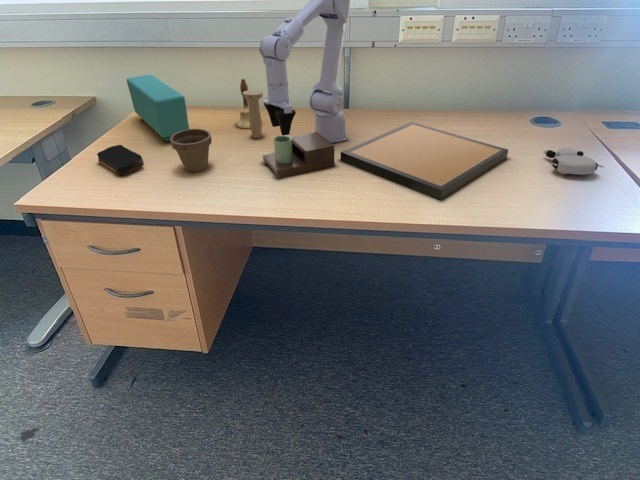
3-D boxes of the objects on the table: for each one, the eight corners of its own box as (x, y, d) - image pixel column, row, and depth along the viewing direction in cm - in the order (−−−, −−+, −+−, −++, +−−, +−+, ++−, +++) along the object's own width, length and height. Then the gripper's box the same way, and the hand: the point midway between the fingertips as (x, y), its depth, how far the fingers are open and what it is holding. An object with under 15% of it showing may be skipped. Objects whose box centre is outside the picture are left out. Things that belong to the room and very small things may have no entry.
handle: (263, 140, 153) (259, 95, 144) (245, 138, 154) (240, 94, 146) (268, 134, 157) (264, 90, 148) (250, 133, 158) (245, 90, 150)
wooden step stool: (317, 151, 144) (317, 131, 140) (334, 166, 135) (334, 145, 131) (263, 163, 138) (261, 142, 134) (277, 179, 129) (275, 157, 125)
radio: (195, 139, 154) (187, 95, 146) (165, 146, 150) (155, 101, 141) (162, 112, 178) (154, 73, 169) (135, 118, 173) (125, 77, 165)
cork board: (506, 158, 138) (410, 129, 159) (508, 149, 136) (411, 121, 157) (440, 200, 117) (340, 160, 138) (442, 190, 116) (340, 152, 137)
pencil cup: (288, 155, 136) (287, 134, 133) (295, 161, 132) (294, 140, 129) (272, 158, 135) (271, 137, 131) (278, 165, 131) (277, 143, 127)
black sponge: (147, 168, 136) (145, 157, 134) (120, 178, 131) (117, 166, 129) (122, 154, 146) (119, 143, 143) (96, 162, 141) (92, 151, 139)
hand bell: (232, 125, 165) (226, 80, 156) (249, 118, 170) (244, 75, 161) (247, 130, 161) (242, 84, 152) (264, 123, 166) (260, 78, 157)
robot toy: (538, 159, 138) (553, 178, 125) (542, 145, 136) (557, 162, 123) (581, 161, 137) (600, 180, 124) (585, 146, 134) (605, 164, 122)
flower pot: (202, 178, 130) (196, 145, 124) (168, 173, 133) (161, 140, 128) (223, 162, 139) (218, 130, 133) (191, 157, 142) (185, 126, 136)
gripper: (255, 78, 130) (259, 124, 137) (273, 91, 119) (276, 141, 126) (278, 75, 132) (281, 120, 140) (297, 88, 121) (300, 136, 129)
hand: (280, 130), depth 133 cm, fingers open, 7 cm apart
